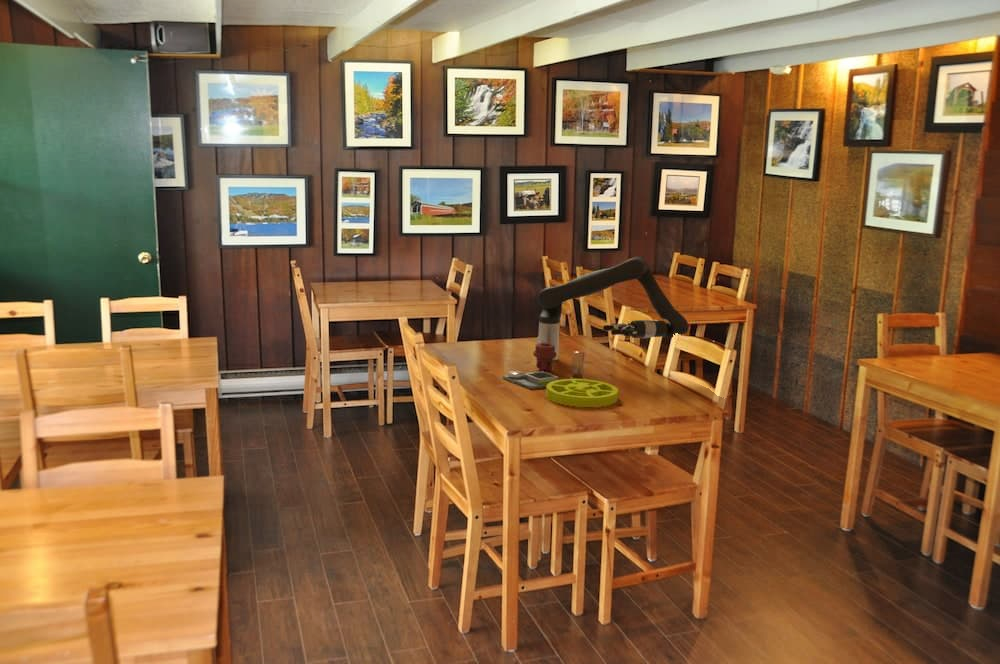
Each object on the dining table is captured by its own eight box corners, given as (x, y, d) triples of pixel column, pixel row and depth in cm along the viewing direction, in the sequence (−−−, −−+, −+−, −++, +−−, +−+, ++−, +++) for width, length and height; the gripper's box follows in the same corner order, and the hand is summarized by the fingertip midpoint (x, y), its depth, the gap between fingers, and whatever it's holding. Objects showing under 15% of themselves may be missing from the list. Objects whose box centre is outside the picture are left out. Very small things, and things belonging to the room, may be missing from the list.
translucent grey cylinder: (567, 379, 375) (568, 351, 373) (578, 377, 379) (579, 349, 376) (576, 382, 370) (577, 354, 368) (587, 380, 374) (589, 352, 371)
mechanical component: (533, 367, 393) (556, 368, 392) (531, 372, 384) (555, 374, 383) (534, 339, 391) (557, 341, 390) (533, 344, 381) (556, 346, 380)
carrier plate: (502, 378, 372) (503, 370, 371) (533, 374, 381) (533, 366, 380) (531, 389, 356) (531, 382, 355) (562, 385, 365) (563, 377, 364)
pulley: (534, 391, 355) (534, 379, 354) (595, 386, 366) (596, 375, 365) (566, 411, 330) (567, 398, 329) (631, 405, 341) (631, 392, 340)
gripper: (636, 317, 385) (601, 318, 380) (650, 323, 372) (615, 324, 367) (635, 334, 386) (600, 335, 382) (649, 341, 373) (613, 342, 368)
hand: (607, 330), depth 374 cm, fingers open, 8 cm apart
